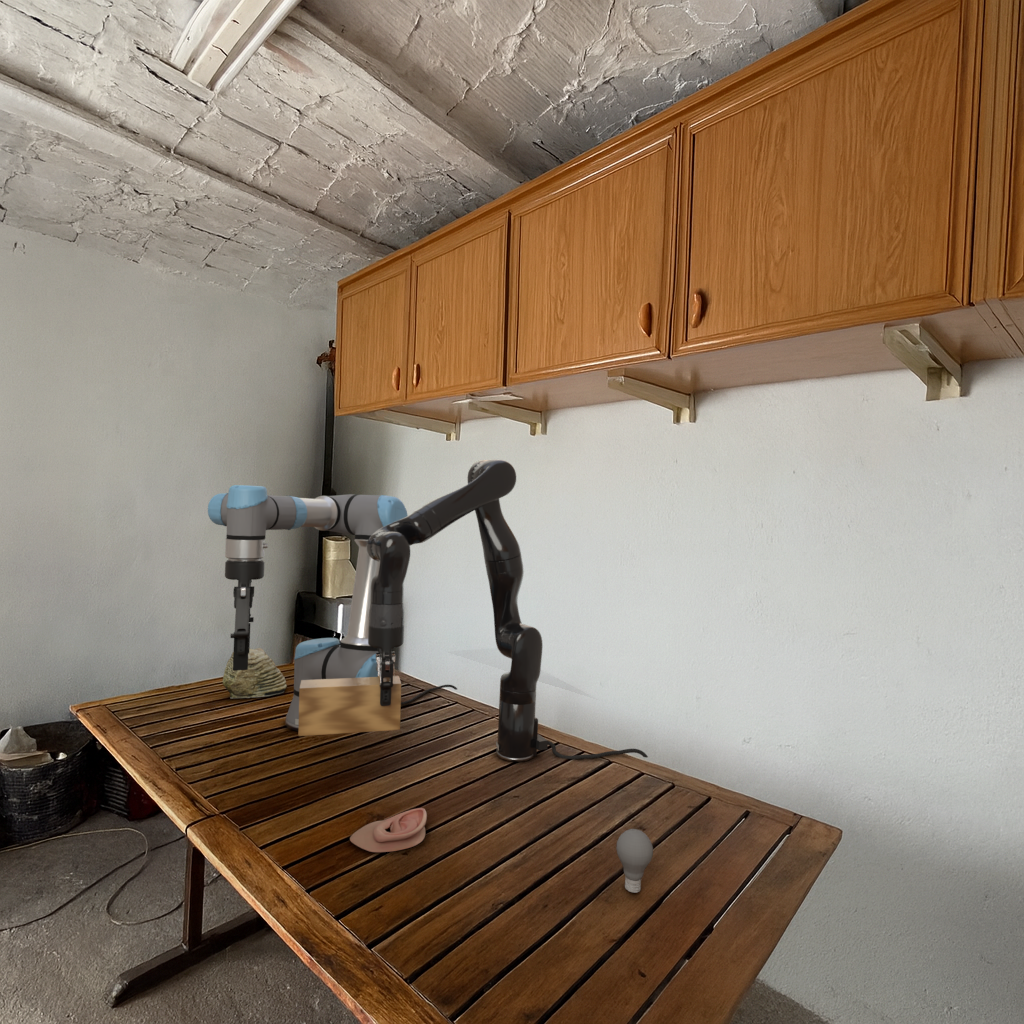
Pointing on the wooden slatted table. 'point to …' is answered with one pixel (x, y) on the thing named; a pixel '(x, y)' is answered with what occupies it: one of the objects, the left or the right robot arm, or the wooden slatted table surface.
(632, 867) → the light bulb
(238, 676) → the fossil
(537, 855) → the wooden slatted table surface
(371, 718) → the box
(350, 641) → the left robot arm
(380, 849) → the anatomical model
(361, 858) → the wooden slatted table surface
